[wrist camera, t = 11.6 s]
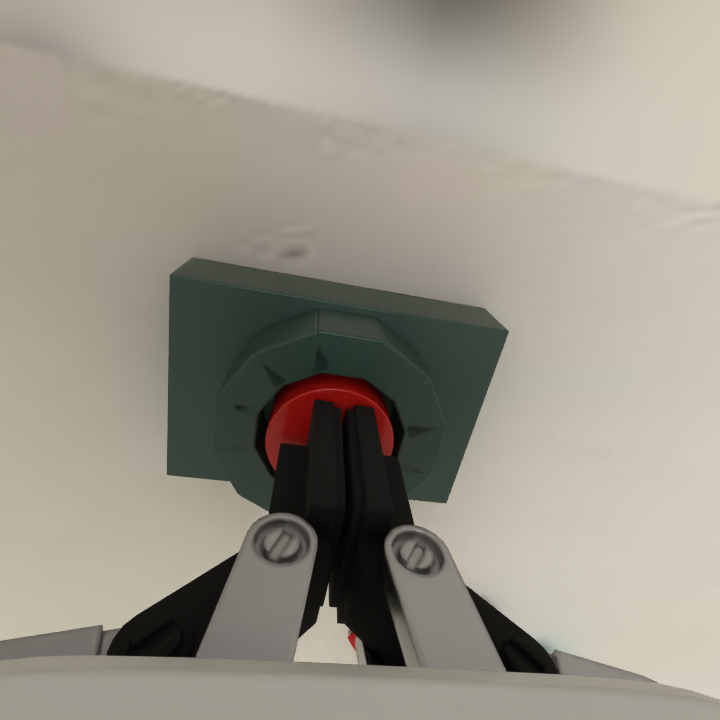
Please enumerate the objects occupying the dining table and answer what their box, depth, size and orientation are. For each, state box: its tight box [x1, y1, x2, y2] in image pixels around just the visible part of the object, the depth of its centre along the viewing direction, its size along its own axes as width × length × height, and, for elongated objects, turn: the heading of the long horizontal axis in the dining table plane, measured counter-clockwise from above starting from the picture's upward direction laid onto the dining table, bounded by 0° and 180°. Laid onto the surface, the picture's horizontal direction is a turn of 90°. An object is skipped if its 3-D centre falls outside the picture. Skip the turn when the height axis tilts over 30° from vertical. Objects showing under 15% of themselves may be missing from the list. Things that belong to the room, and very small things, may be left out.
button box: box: [167, 258, 508, 511], centre depth 14 cm, size 10×7×4 cm
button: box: [265, 373, 394, 471], centre depth 13 cm, size 4×4×2 cm
